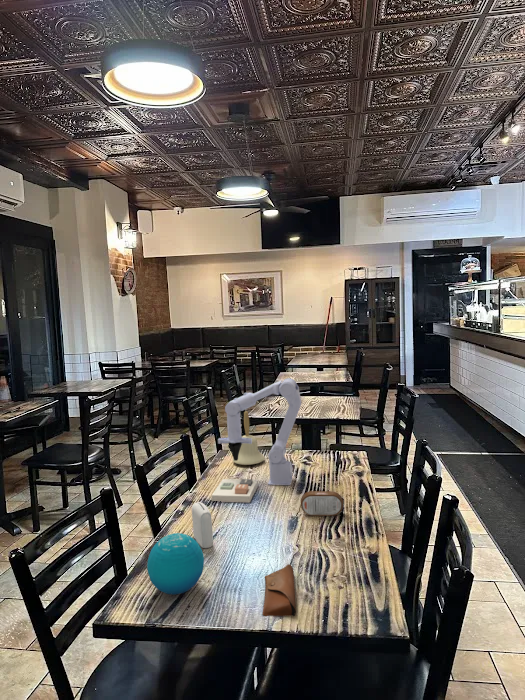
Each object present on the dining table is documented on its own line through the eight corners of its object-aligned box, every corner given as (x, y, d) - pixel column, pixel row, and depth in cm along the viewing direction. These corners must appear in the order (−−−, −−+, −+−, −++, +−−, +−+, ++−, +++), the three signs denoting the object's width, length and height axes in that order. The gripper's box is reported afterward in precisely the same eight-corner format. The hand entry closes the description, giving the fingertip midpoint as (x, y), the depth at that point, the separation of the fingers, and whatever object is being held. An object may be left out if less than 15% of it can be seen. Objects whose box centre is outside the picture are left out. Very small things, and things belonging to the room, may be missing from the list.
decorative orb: (169, 570, 138) (166, 520, 136) (215, 579, 132) (212, 527, 131) (137, 600, 124) (133, 545, 123) (187, 612, 118) (183, 555, 117)
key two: (248, 491, 189) (248, 483, 188) (246, 496, 184) (245, 488, 184) (237, 491, 189) (237, 483, 189) (235, 495, 185) (234, 488, 185)
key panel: (258, 485, 199) (257, 479, 198) (249, 502, 182) (249, 496, 182) (223, 484, 201) (222, 479, 201) (211, 501, 185) (211, 495, 184)
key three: (233, 489, 194) (233, 482, 194) (231, 494, 190) (230, 486, 189) (223, 489, 195) (223, 482, 194) (220, 493, 190) (220, 486, 190)
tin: (343, 513, 169) (342, 490, 168) (344, 516, 166) (343, 493, 165) (301, 513, 171) (300, 490, 170) (300, 517, 168) (299, 494, 167)
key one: (252, 486, 197) (252, 478, 196) (250, 490, 192) (250, 482, 192) (242, 486, 197) (241, 478, 197) (239, 490, 193) (239, 482, 193)
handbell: (252, 469, 218) (250, 416, 215) (226, 465, 226) (223, 413, 224) (270, 459, 231) (268, 409, 228) (245, 455, 239) (242, 406, 236)
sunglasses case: (262, 574, 133) (274, 554, 132) (285, 586, 133) (296, 566, 133) (261, 617, 115) (274, 594, 114) (287, 630, 115) (300, 607, 115)
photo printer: (191, 536, 157) (189, 500, 156) (204, 533, 159) (202, 497, 158) (202, 550, 148) (199, 512, 147) (215, 546, 150) (212, 508, 149)
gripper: (215, 431, 200) (217, 462, 201) (249, 431, 197) (250, 463, 199) (219, 426, 207) (221, 457, 208) (252, 426, 204) (254, 457, 206)
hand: (236, 459), depth 204 cm, fingers closed
